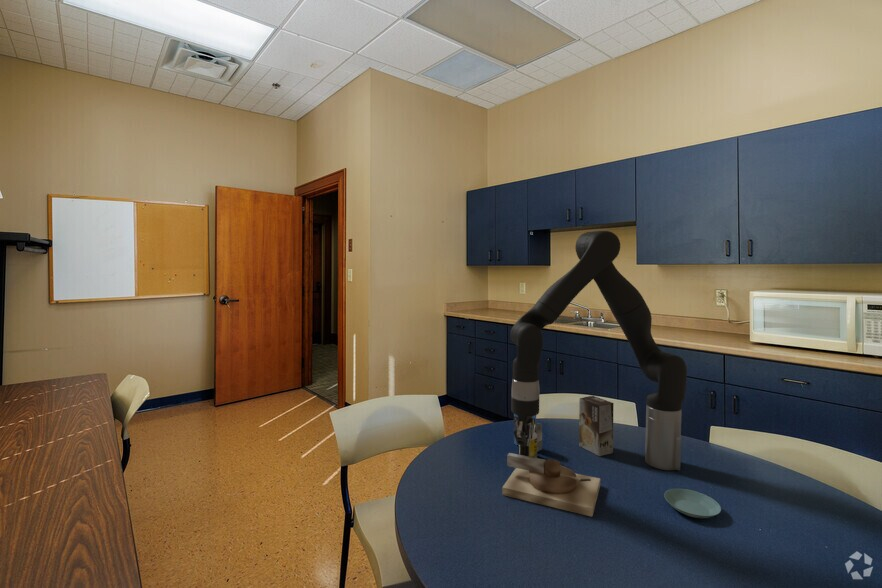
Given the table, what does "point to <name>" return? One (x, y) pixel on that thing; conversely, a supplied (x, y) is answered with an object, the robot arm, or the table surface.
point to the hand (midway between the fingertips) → (524, 457)
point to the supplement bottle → (532, 445)
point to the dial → (545, 473)
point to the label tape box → (537, 430)
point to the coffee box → (596, 425)
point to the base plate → (572, 501)
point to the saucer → (692, 503)
